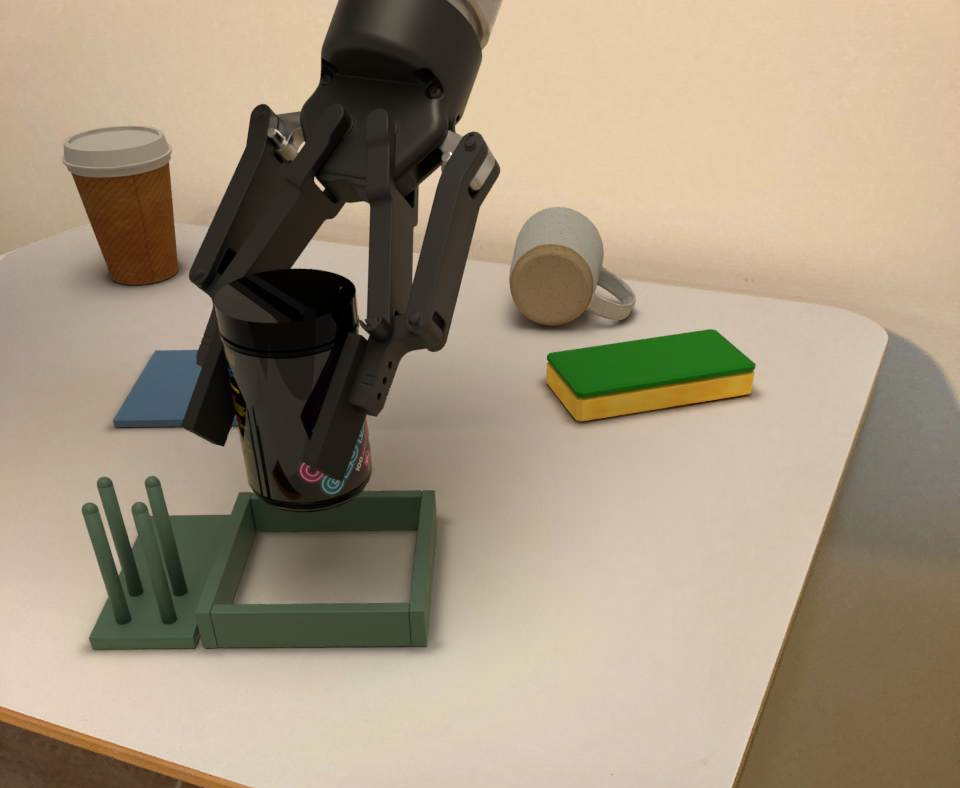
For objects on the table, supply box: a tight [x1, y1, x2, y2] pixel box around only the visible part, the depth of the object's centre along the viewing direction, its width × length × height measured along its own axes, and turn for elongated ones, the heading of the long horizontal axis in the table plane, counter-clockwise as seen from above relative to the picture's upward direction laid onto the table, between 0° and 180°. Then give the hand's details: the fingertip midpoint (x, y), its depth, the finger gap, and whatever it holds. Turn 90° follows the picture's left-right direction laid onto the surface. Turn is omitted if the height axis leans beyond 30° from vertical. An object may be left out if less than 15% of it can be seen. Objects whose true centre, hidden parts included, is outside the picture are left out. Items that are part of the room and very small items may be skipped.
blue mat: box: [112, 349, 238, 428], centre depth 79 cm, size 12×12×1 cm
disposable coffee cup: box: [61, 125, 179, 286], centre depth 95 cm, size 10×10×12 cm
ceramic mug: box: [508, 206, 637, 327], centre depth 87 cm, size 11×8×8 cm
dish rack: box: [81, 475, 438, 650], centre depth 57 cm, size 18×12×8 cm, turn 89°
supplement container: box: [214, 268, 373, 512], centre depth 53 cm, size 7×7×10 cm
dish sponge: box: [545, 328, 757, 422], centre depth 77 cm, size 7×14×2 cm, turn 106°
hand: (261, 453), depth 51 cm, fingers closed on supplement container, 7 cm apart
